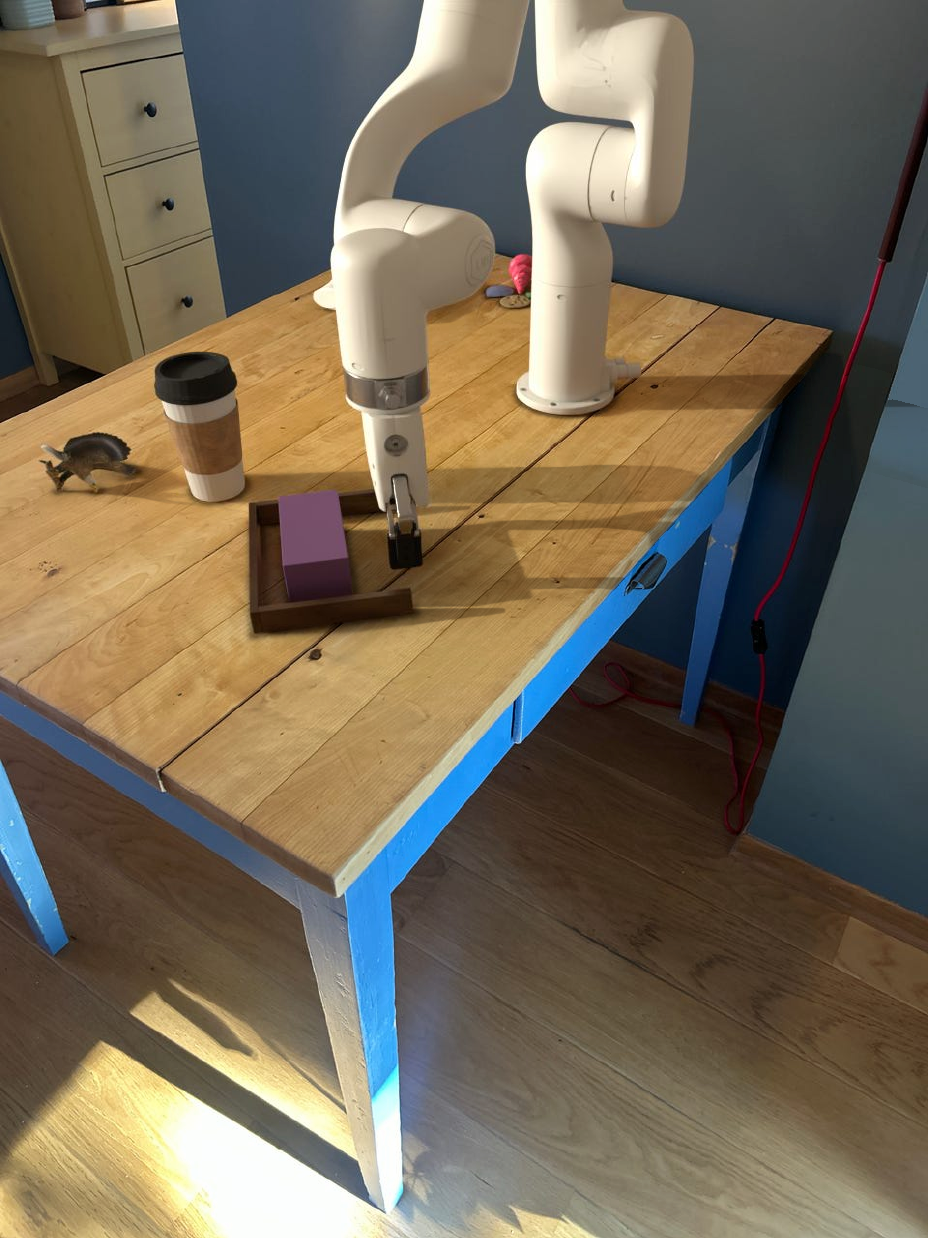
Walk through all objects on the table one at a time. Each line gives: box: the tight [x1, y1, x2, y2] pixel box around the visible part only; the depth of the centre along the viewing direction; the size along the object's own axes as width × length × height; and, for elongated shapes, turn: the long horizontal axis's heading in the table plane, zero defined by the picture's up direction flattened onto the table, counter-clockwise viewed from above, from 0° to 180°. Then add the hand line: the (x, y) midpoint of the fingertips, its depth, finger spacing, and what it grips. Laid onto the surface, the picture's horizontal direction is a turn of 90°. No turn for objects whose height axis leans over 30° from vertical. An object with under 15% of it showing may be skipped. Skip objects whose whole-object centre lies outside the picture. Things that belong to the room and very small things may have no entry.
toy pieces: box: [485, 253, 532, 309], centre depth 147 cm, size 12×11×4 cm
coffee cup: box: [153, 351, 246, 503], centre depth 100 cm, size 8×8×15 cm
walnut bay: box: [248, 488, 414, 634], centre depth 93 cm, size 15×19×2 cm
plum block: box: [277, 489, 354, 603], centre depth 92 cm, size 6×12×5 cm, turn 11°
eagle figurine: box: [38, 431, 137, 493], centre depth 105 cm, size 8×7×9 cm
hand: (400, 537), depth 94 cm, fingers open, 9 cm apart
